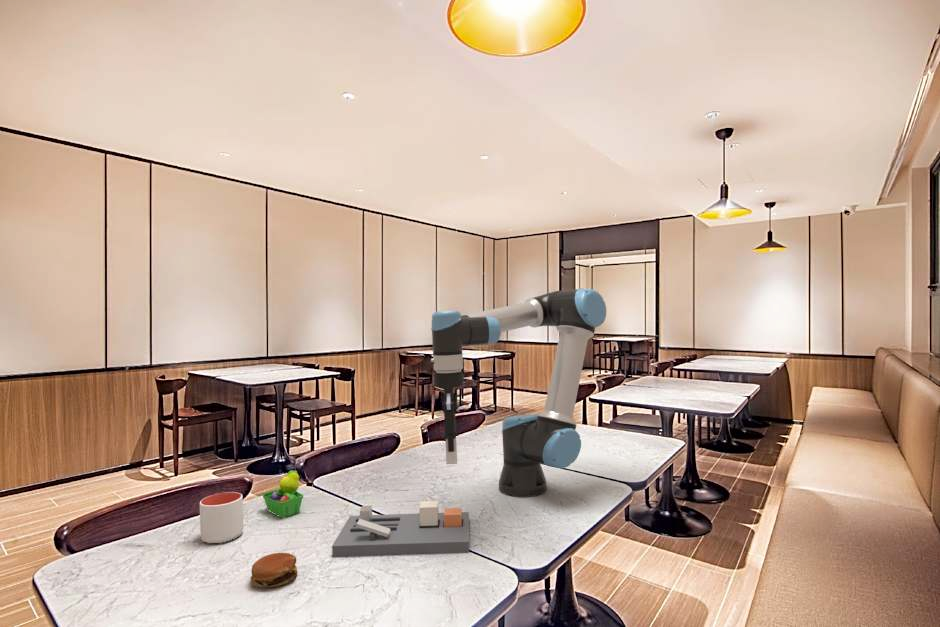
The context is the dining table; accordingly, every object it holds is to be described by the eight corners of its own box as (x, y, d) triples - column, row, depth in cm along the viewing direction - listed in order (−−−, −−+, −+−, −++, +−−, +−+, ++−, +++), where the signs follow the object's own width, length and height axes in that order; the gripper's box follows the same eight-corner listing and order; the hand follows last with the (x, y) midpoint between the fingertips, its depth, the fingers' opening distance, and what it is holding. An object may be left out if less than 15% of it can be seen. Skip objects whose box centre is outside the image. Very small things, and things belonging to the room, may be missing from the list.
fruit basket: (261, 511, 149) (260, 473, 149) (289, 502, 155) (288, 465, 155) (280, 521, 141) (278, 480, 141) (309, 511, 148) (308, 472, 148)
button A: (462, 525, 132) (461, 508, 132) (461, 533, 128) (461, 514, 128) (445, 526, 132) (444, 508, 132) (444, 533, 128) (443, 515, 128)
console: (469, 521, 137) (468, 506, 137) (469, 552, 119) (468, 535, 119) (350, 525, 137) (349, 510, 137) (332, 556, 119) (331, 540, 119)
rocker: (389, 531, 124) (390, 528, 124) (387, 537, 121) (388, 534, 121) (358, 521, 124) (359, 518, 124) (355, 526, 121) (356, 523, 121)
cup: (226, 547, 126) (225, 506, 126) (191, 544, 128) (190, 505, 128) (251, 530, 136) (250, 492, 136) (218, 528, 138) (217, 491, 138)
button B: (438, 518, 132) (438, 500, 132) (437, 525, 128) (437, 507, 128) (421, 519, 132) (421, 501, 132) (420, 526, 128) (419, 507, 128)
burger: (246, 577, 111) (246, 555, 111) (290, 564, 116) (289, 544, 116) (256, 597, 103) (256, 574, 103) (303, 582, 108) (302, 560, 108)
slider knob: (372, 520, 132) (371, 505, 132) (369, 526, 128) (369, 510, 128) (363, 521, 132) (362, 505, 132) (360, 526, 128) (359, 511, 128)
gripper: (435, 368, 137) (438, 456, 137) (431, 374, 124) (435, 471, 124) (463, 367, 137) (466, 455, 137) (462, 373, 124) (466, 470, 124)
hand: (451, 463), depth 130 cm, fingers closed
